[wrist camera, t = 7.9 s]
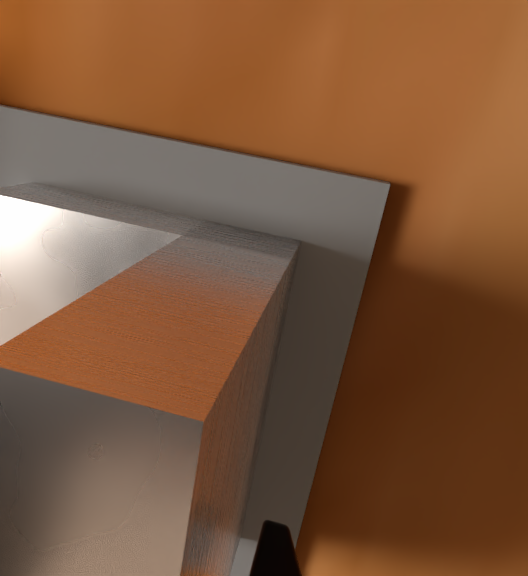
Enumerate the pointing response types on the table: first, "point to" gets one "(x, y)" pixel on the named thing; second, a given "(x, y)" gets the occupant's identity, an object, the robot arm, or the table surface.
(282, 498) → the pad
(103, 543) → the aluminium bracket
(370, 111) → the table surface
